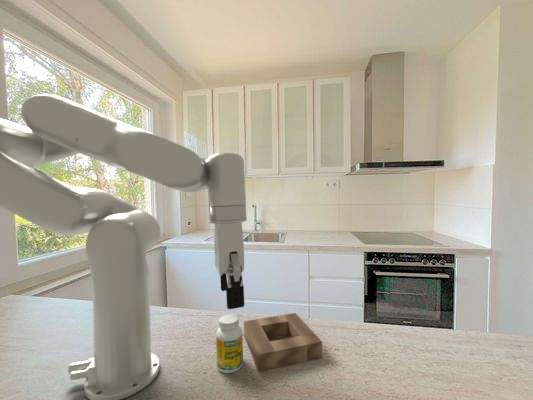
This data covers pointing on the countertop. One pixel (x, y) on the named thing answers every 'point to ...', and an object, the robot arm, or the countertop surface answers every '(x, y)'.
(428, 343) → the countertop surface
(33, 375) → the countertop surface
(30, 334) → the countertop surface
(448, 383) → the countertop surface
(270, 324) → the socket block
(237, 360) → the supplement bottle
